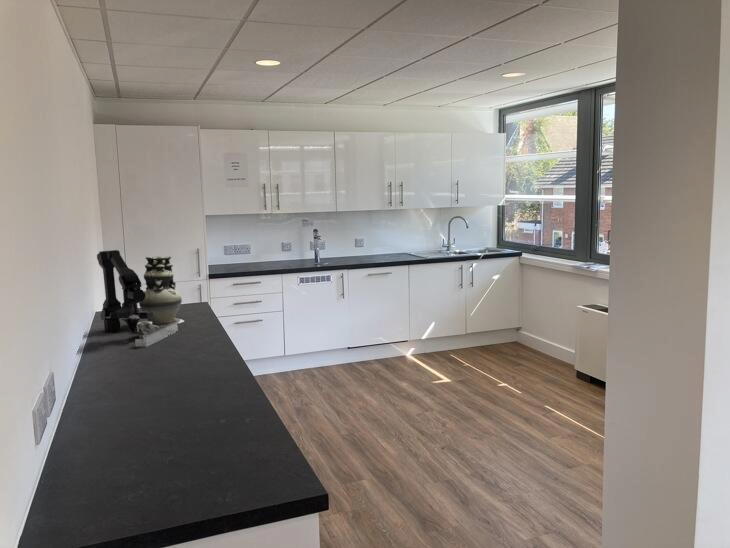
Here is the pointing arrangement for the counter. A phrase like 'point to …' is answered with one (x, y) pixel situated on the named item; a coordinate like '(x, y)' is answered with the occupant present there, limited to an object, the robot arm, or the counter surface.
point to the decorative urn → (160, 292)
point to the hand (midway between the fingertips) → (132, 332)
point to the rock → (145, 328)
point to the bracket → (157, 334)
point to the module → (142, 322)
